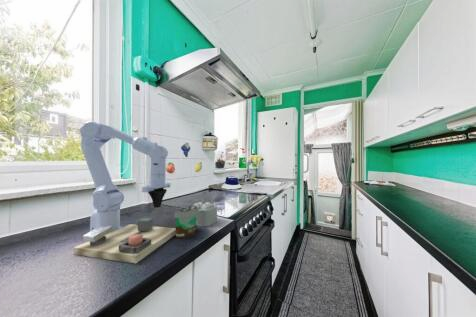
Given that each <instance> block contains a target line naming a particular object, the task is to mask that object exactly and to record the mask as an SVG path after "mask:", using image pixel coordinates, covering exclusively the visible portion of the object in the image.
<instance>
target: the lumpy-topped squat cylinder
mask: <svg viewBox="0 0 476 317" xmlns="http://www.w3.org/2000/svg"><path fill="white" fill-rule="evenodd" d="M193 205H196V206H197V207H198V209H199V213H198V214H197V221H196V225H197V226H196V227H201V226H207V227H210V226H212V225H213V223H214V224H216V223H218V206H217V205H215V204H213V203H211V202H210V201H207V202H204V203H203V202H202V201H200V202H195V203H193ZM215 222H216V223H215ZM211 224H212V225H211Z"/></svg>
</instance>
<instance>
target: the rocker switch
mask: <svg viewBox="0 0 476 317" xmlns="http://www.w3.org/2000/svg"><path fill="white" fill-rule="evenodd" d="M112 231H113V230H112V226H103V225H102V226H100V227H98V228H97V229H95V230H93V231H91V232H90V231H88V232H89V233H88V232H87V233H85V234H83V235H82V239H83V241H85V242H88V241H90V242H95V241H97V240H98V239H100V238H102V237H103V236H105V235H107V234H108V233H110V232H112Z"/></svg>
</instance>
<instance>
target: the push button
mask: <svg viewBox="0 0 476 317" xmlns="http://www.w3.org/2000/svg"><path fill="white" fill-rule="evenodd" d="M142 240H143V235H142V234H136V235H132V236H130V237H129V245H128V246H135V247H136V246H138V245H140V244H141V243H142Z"/></svg>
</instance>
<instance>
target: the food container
mask: <svg viewBox="0 0 476 317" xmlns="http://www.w3.org/2000/svg"><path fill="white" fill-rule="evenodd" d="M198 213H199V209H198V207H197V206H196V205H194V204H189V206H188V207H185V208H183V209H181V210H180V211H174V217H173V218H174V219H175V222H174V224H175V228H176V235H175V238H176V239H186V238H190V237H192V236H194V235H195V234H196V232H197V231H196V230H197V226H196V221H197V214H198Z"/></svg>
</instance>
